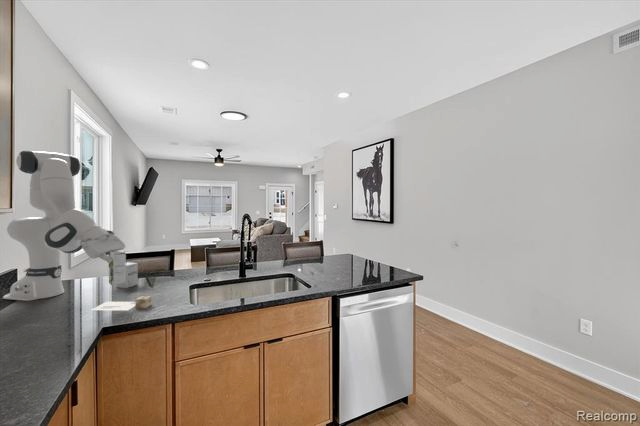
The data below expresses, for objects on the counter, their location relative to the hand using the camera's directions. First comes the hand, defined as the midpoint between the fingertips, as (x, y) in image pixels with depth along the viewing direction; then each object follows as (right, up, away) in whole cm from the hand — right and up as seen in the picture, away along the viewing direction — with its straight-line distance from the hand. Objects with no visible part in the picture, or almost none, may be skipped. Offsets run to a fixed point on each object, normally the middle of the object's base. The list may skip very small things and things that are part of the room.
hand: (118, 259), depth 129 cm
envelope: (-1, -21, +1) cm, 22 cm away
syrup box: (-1, -11, 0) cm, 11 cm away
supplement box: (-17, -20, +32) cm, 41 cm away
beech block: (+11, -22, +1) cm, 24 cm away
